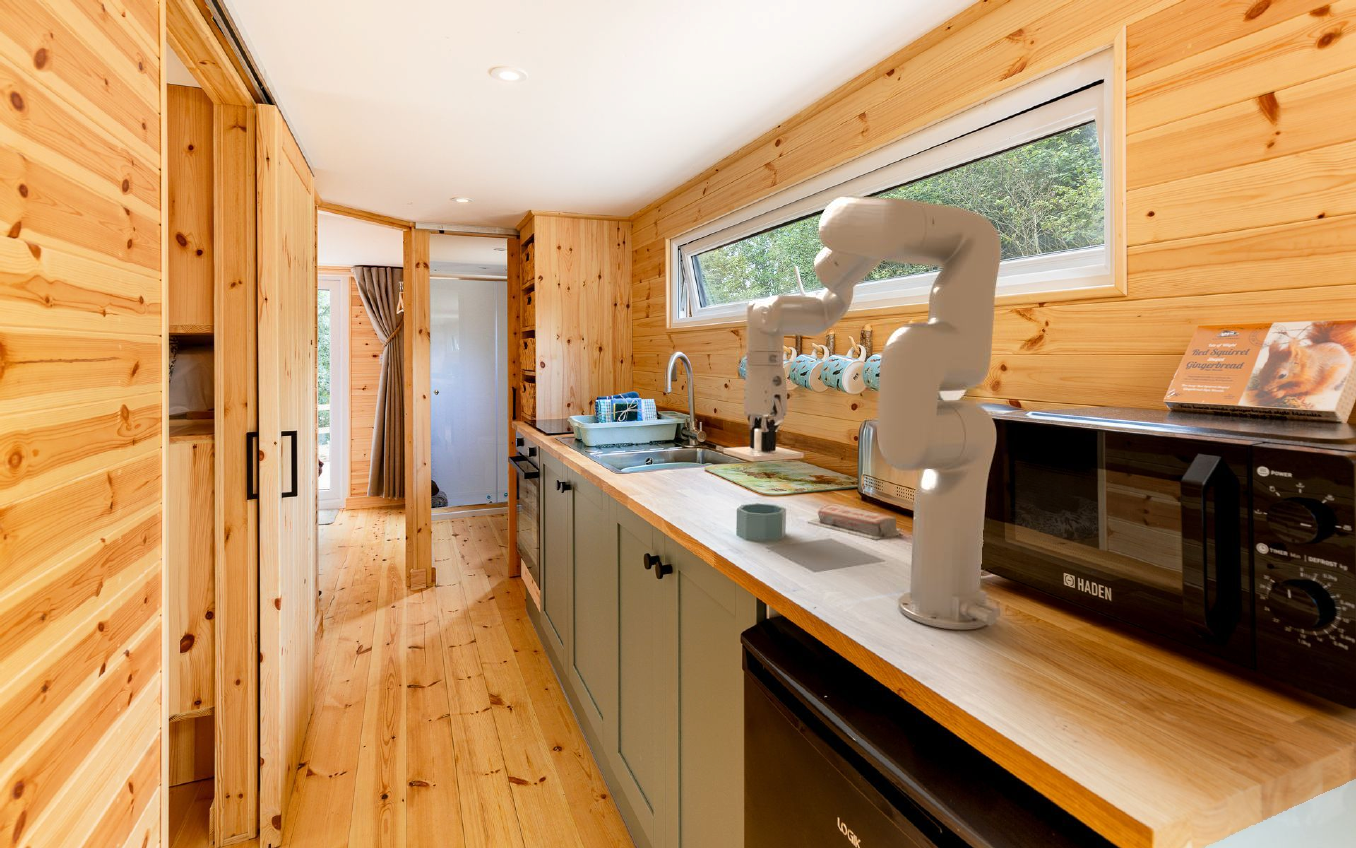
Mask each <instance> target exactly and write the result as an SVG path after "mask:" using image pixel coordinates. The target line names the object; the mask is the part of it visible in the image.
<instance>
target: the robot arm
mask: <svg viewBox="0 0 1356 848" xmlns="http://www.w3.org/2000/svg"><path fill="white" fill-rule="evenodd" d="M818 238H819V239H820V242H821V244H822V245H823V246H824V247H823V249H821V250H820V251H819V252H818V254H817V255H816V256H815V258H814V262H813V268H814V272H815V275H816V277H817V279H818V281H819V282H820V283H821V284H822V285H823V286H824V289H823V290H822V291H821V292H820V293H818V294H817V295H816V296H805V295H804V296H800V295H799V296H797V295H785V294H784V295H781V294H780V295H778V294H777V295H772V296H769V297H767V298H762V299H761V298H760V299H759V298H758V299H754V300H751V301H749V303H748V305H747V307H746V308H747V309H746V314H747V315H746V363H745V368H746V372H745V379H744V389H743V390H744V391H743V410H744V416H745V417H746V418H747V421H748V428H749V430H750V432H749V435H750V436H749V439H750V440H749V447H750V448H752V449H754V429H756V428H763V430H764V432H761V451H764V452H765V451H775V450H776V447H777V432H778V429H779V427H780V425H781V424H782V422H783V421H785V417H786V415H787V413H788V389H787V386H788V385H787V378H786V372H785V368H784V349H785V348H784V344H785V343H784V342H785V341H784V340H785V336H807V337H808V336H811V337H812V336H817V335H818V336H819V335H820V334H823V333H825V332H826V331H828V330H829V329H831V328H832V327H833V326H834V325H835V324H837V323H838V322H839V321H841V320H842V318H843V317H845V315H846V314H847V312H848V311H849V309H850V306H851V303H852V301H853V298H854V287H855V286H857V285H858V284H860V282H861V281H862V280H863V279H864V278H866V277H867V276H868V274H870V273H871V272H872V271H874V270H875V269H876V268H877V267H878V266H879V265H880V264H881V263H882V262H884V261H885V262H892V263H904V264H913V265H926V266H935V267H940V268H942V269H941V270H940V271H939V273H938V274H937V276H936V278H935V280H934V281H933V284H932V287H931V289H930V293H929V296H928V297H929V299H928V313H927V321H919V322H918V321H917V322H911V323H910V322H909V323H907V324H905V325H902V326H900V327H898V328H897V329H896V330H895V331H894V332H893V333H892V334H891V335H890V337H888V340H887V341H886V343H885V346H884V348H883V350H882V354H881V358H880V361H879V362H880V363H879V376H878V377H879V378H878V379H879V380H878V396H877V397H878V398H877V399H878V401H877V417H876V436H877V437H876V438H877V443H878V448H879V451H880V453H881V456H882V457H883V458H884V460H885V461H886V462H887V463H888V464H889V465H890V466H891V467H893V468H895V469H897V470H900V471H906V472H913V471H914V472H915V471H916V472H917V471H921V473H920V475H919V477H918V480H917V484H916V487H915V493H914V499H913V500H914V501H913V503H914V504H913V522H912V525H913V527H912V541H911V542H912V543H911V544H912V545H911V566H910V568H911V569H910V583H909V584H910V587H909V588H910V589H909V592H906V593H903V594H902V595H901V596H900V597H899V599H898V606H897V607H898V609H899V611H900V612H901V613H902V614H903V615H904V616H906V617H907V618H909V619H910V620H913V621H915V622H917V623H920V624H924V625H928V626H931V627H935V628H940V629H947V630H961V631H962V630H963V631H964V630H965V631H966V630H975V629H979V628H983V627H985V626H989V627H990V626H991V627H992V626H993V625H995V623H996V621H997V618H999V616H1000V614H1001V609H1000V608H999V607H997V606H994V605H991V604H988V603H987V591H985V590H983V589H981V581H982V580H981V578H982V577H981V576H982V572H981V564H982V547H983V530H985V529H984V526H985V515H986V514H985V512H986V511H985V510H986V498H987V488H988V480H989V473H990V470H991V465H992V462H993V458H994V454H995V450H996V445H997V428H996V424H995V422H994V420H993V418H992V416H991V414H989V412H988V411H987V410H986V409H985V408H984V407H982V406H981V405H979V404H978V403H977V404H976V403H974V402H972V401H971V402H970V401H967V400H957V399H953V400H952V399H951V400H947V399H946V400H939V395H940V394H939V393H940V392H956V391H967V390H970V389H974V388H976V387H978V386H980V385H981V384H982V383H983V382H984V381H985V379H986V378H987V377H988V375H989V372H990V366H991V360H992V348H993V333H994V321H995V297H996V288H997V283H998V282H997V280H998V276H999V269H1000V263H1001V255H1002V254H1001V253H1002V250H1001V248H1002V245H1001V240H1000V235H999V233H998V231H997V229H996V227H995V226H994V225H993V223H992V222H991V221H990V220H989V219H987V218H986V217H985V216H983V215H981V214H979V213H977V212H974V211H971V210H969V209H964V208H961V207H956V206H951V205H945V204H940V203H939V204H938V203H931V202H924V201H920V200H914V199H913V200H912V199H907V198H905V199H904V198H895V197H876V196H873V197H872V196H857V195H855V196H854V195H843V196H840V197H838V198H836V199H835V200H833V201H832V202H831V203H829V205H828V206H827V207H826V208H825V209H824V211H823V213H822V214H821V217H820V219H819V223H818Z"/></svg>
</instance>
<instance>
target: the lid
mask: <svg viewBox="0 0 1356 848" xmlns="http://www.w3.org/2000/svg"><path fill="white" fill-rule="evenodd" d="M761 432H764V430H763V428H756V429H754V449H752V448H750V446H741V447H740V446H739V447H725V448H722V449H723V452H722V453H723V454H725V455H729V456H733V457H736V458H740V459H743V460H746V461H750V462H765V461H778V460H781V461H782V460H793V459H794V460H795V459H804V458H805V457H804V456H805V454H804V452H801V451H798V450H797V451H796V450H791V449H788V448H785V447H784V448H783V447H779V446H776V450H775V451H765V452H764V451H761Z"/></svg>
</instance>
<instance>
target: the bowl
mask: <svg viewBox="0 0 1356 848" xmlns="http://www.w3.org/2000/svg"><path fill="white" fill-rule="evenodd" d="M786 524H787V508H786V507H785V508H784V507H782V506H780V505H776V504H769V503H747V504H741V505H739V506H738V507H737V508H736V536H737V537H739V538H741V539H743V540H745V541H750V542H758V543H759V542H760V543H768V542H776V541H778V542H779V541H782V540H783V539H784V537H785V536H786V528H787V525H786Z"/></svg>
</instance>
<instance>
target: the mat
mask: <svg viewBox="0 0 1356 848" xmlns="http://www.w3.org/2000/svg"><path fill="white" fill-rule="evenodd" d="M764 548H765V549H767V550H769V551H771V552H774V554H777V555H780V557H783V558H785V559H788V560H789V561H791V562H793V563H795V564H798V565H799V566H801V567H803V568H805V569H807V570H809V571H811V572H814V573H819V572H824V571H832V570H838V569H844V568H850V567H855V566H856V567H857V566H862V565H869V564H875V563H882V562H886V560H885V559H882V558H880V557H877V556H875V555H872V554H871V553H868V552H865V551H863V550H861V549H858V548H855V547H853V546H851V545H848V544H845V543H843V542H841V541H838V540H836V539H833V538H824V539H818V540H810V541H802V542H795V543H789V544H786V543H785V544H780V545H773V546H766V547H764Z"/></svg>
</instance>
